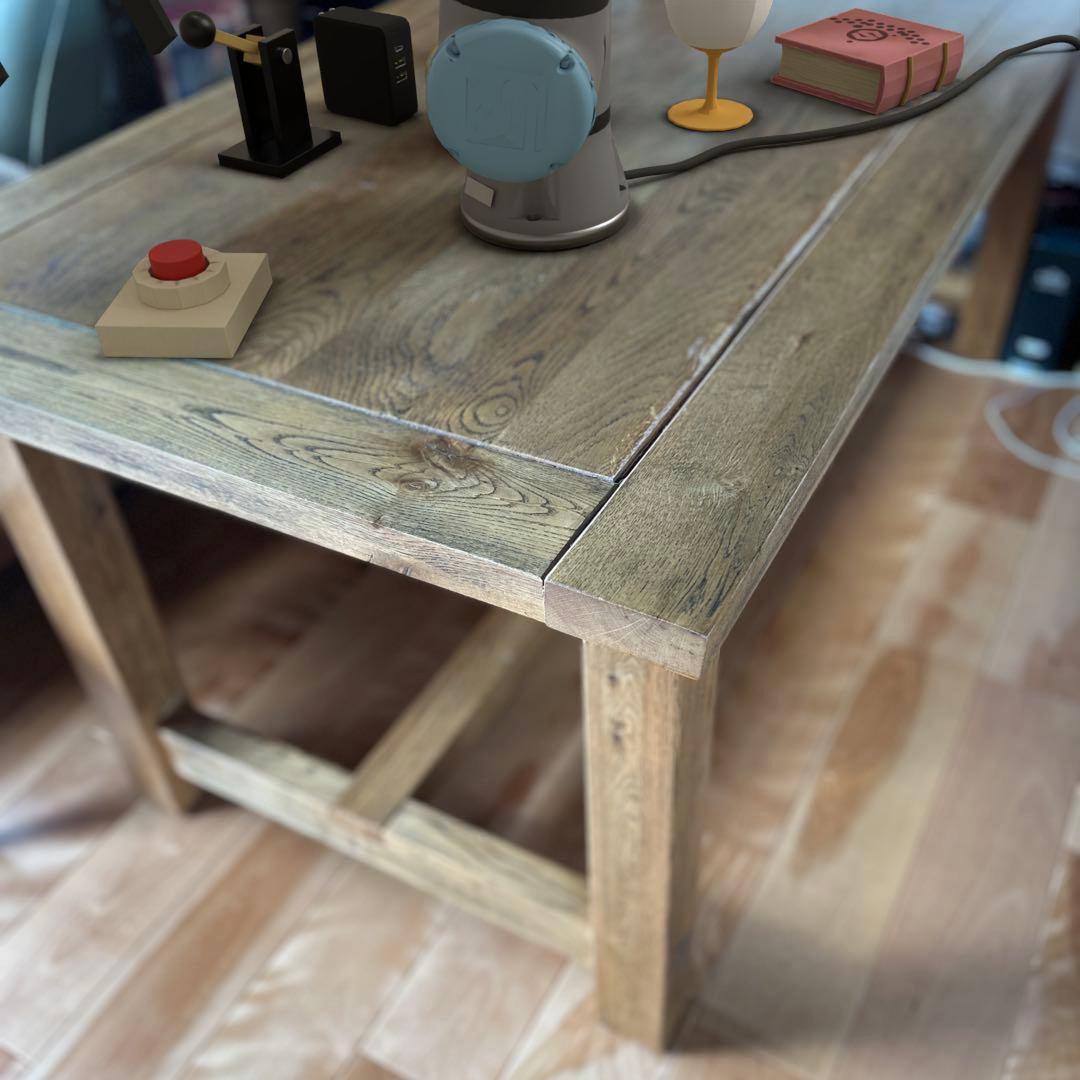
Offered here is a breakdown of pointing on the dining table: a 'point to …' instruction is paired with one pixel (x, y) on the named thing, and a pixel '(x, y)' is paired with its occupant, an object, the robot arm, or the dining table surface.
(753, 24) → the cup
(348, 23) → the electronic device
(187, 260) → the power button
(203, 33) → the lever
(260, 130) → the lamp switch
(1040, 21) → the dining table surface
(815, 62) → the book
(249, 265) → the power block
